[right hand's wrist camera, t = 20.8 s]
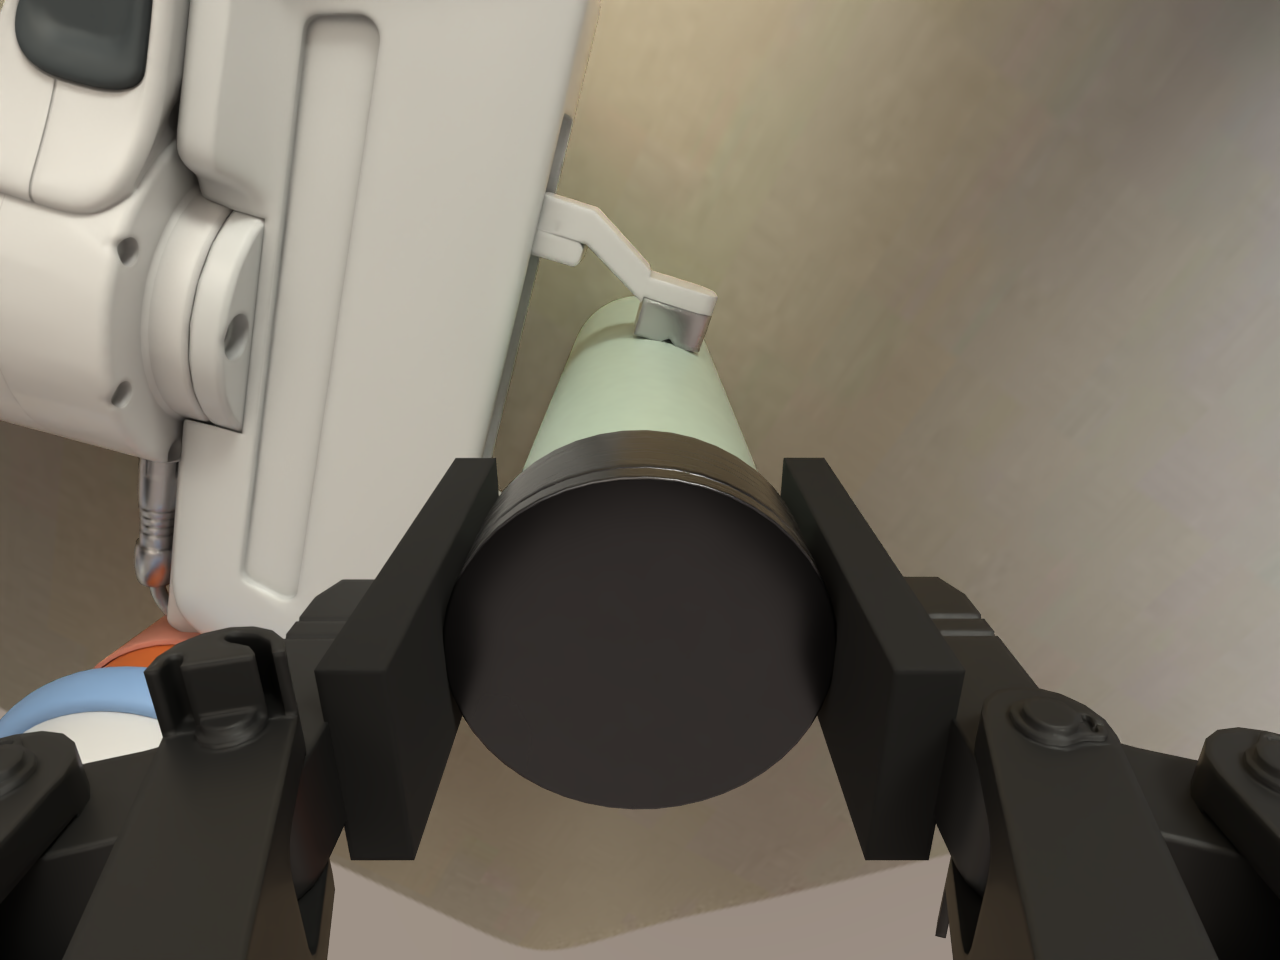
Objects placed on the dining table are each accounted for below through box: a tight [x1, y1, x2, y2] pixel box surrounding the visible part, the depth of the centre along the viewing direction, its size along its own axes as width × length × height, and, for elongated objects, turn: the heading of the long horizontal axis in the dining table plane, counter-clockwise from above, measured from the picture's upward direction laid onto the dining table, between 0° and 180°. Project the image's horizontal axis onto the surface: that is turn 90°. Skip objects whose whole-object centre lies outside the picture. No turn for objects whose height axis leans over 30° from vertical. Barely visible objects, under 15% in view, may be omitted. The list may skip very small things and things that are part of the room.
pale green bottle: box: [522, 296, 758, 472], centre depth 19 cm, size 5×5×17 cm
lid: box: [443, 430, 837, 809], centre depth 11 cm, size 5×5×2 cm
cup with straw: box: [0, 616, 201, 764], centre depth 22 cm, size 9×9×18 cm
